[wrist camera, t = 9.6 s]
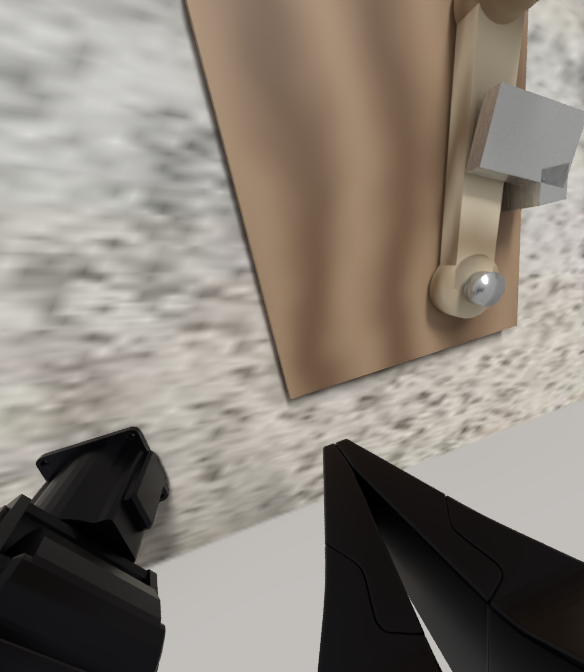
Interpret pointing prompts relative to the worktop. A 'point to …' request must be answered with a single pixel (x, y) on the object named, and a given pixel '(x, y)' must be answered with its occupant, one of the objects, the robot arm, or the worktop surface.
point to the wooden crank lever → (461, 187)
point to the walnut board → (345, 175)
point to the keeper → (521, 160)
